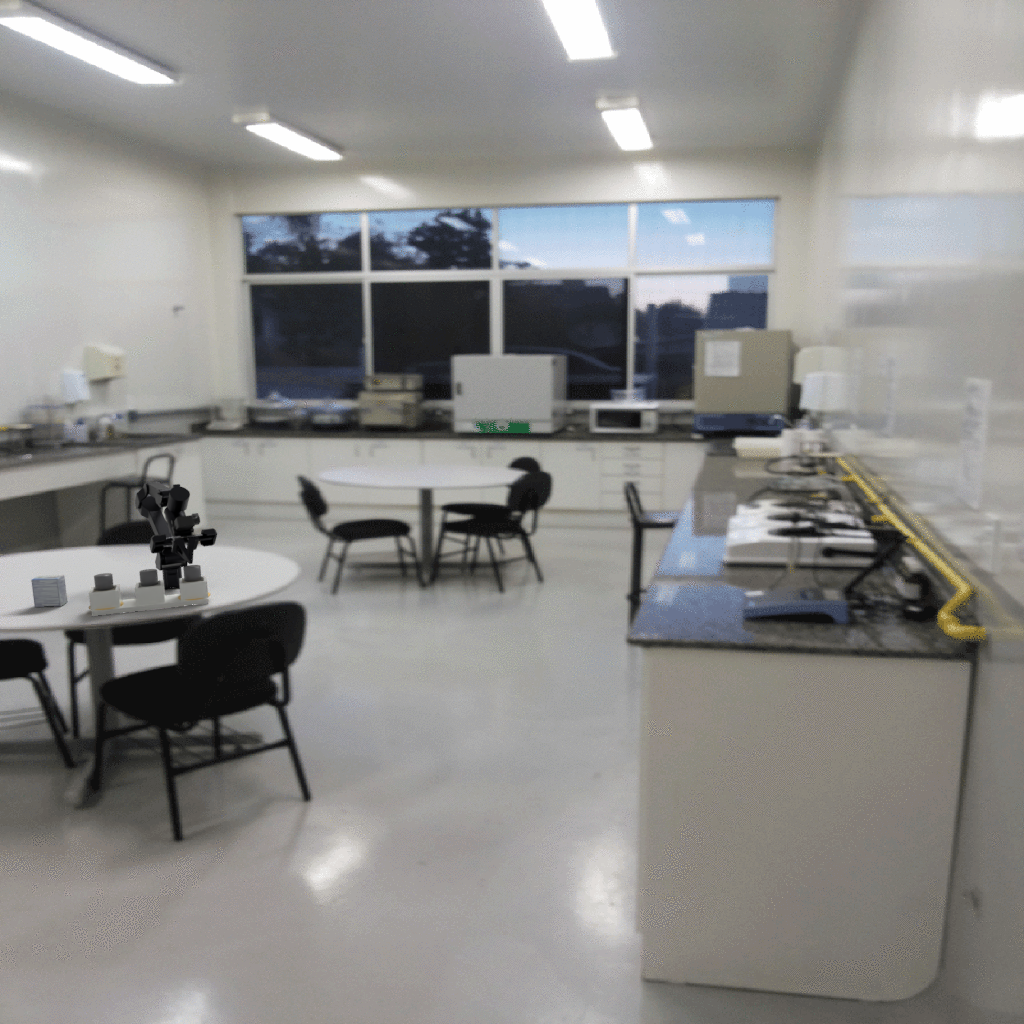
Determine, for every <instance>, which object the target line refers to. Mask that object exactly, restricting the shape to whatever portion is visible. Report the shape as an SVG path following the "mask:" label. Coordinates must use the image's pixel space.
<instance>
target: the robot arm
mask: <svg viewBox="0 0 1024 1024" xmlns="http://www.w3.org/2000/svg"><path fill="white" fill-rule="evenodd" d="M190 496H191V492H190V491H189V490H188V488H186V487H183V486H181V484H180V483H176V484H172V487H168V486H166V485H164V484H162V482H161V481H147V482H145V483H143V487H142V488H141V489H139V490H138V491H137V492H136V495H135V499H134V506H135V509H136V510H138V512H139V514H140V515H141V516H142V517H143V518H146V519H147V520H148V522H149V524H150V526H151V529H152V532H153V533H154V535H152V536H151V537H150V543H149V550H150V552H151V554H156V555H155V556H156V557H155V562H154V563H155V569H156V570H157V571H162V580H164V590H170V589H180V585H179V578H183V572H182V568H183V567H185V566H188V564H189V565H193V561H194V550H197V548H198V544H199V543H200V545H201V546H202V547H211V546H214V545H215V544H216V541H217V537H218V532H217V530H216V529H215V528H213V527H212V528H211V527H210V528H203V529H201V530H200V531H201V532H200V533H198V534H197V533H196V534H193V533H194V531H195V528H194V527H195V526H197V525H200V523H201V518H200V515H199V512H198V513H197V512H195V513H192V514H191V515H186V510H187V509H188V504H189V500H190ZM163 510H164V511H163ZM163 513H164V514H163Z"/></svg>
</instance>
